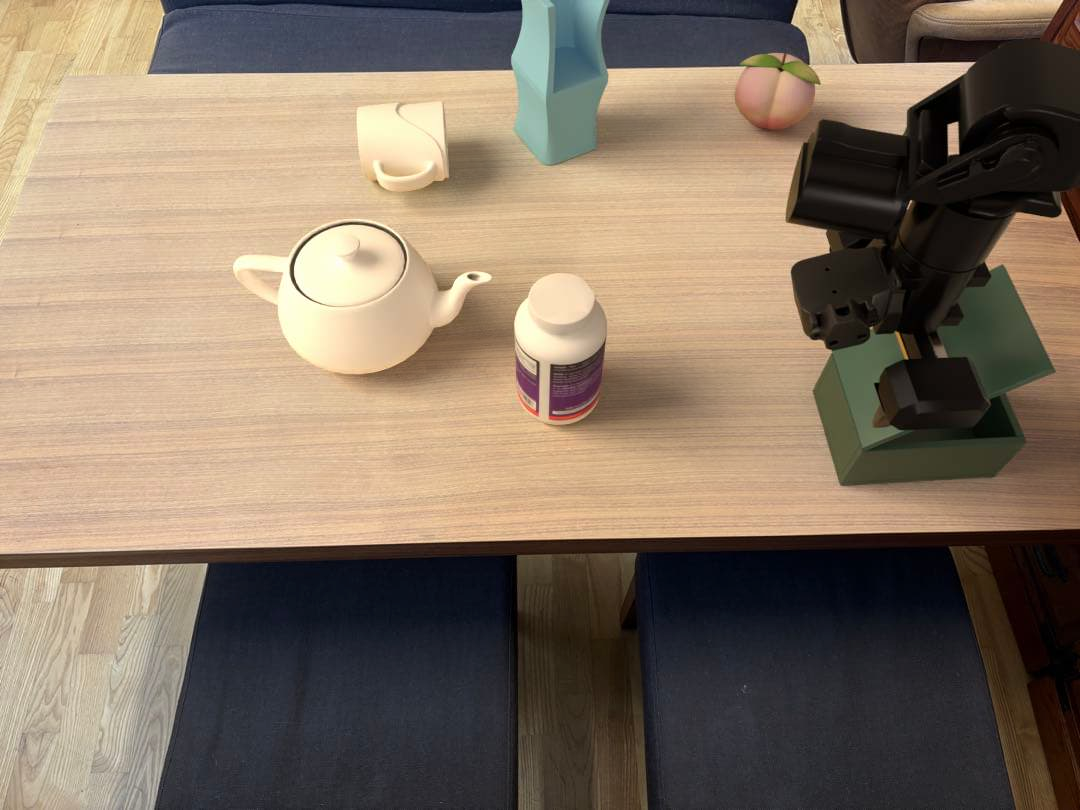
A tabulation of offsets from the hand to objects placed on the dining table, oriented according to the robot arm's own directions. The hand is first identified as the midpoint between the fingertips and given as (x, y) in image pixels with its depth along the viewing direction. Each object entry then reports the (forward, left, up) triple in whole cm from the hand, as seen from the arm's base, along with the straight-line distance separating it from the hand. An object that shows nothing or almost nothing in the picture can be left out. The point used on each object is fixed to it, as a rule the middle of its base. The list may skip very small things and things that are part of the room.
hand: (862, 377), depth 68 cm
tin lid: (-6, -4, -1) cm, 7 cm away
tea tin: (-7, -4, -13) cm, 15 cm away
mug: (+49, -25, -13) cm, 57 cm away
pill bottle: (+25, 0, -13) cm, 28 cm away
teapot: (+45, -3, -13) cm, 47 cm away
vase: (+34, -36, -13) cm, 51 cm away
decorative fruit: (+10, -45, -13) cm, 48 cm away
